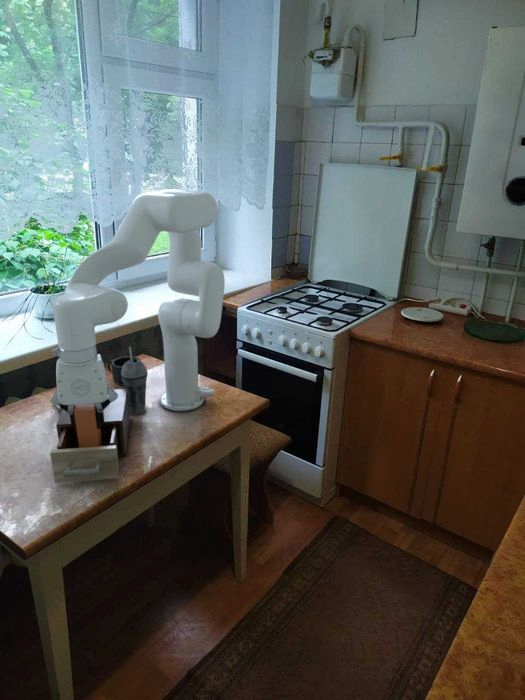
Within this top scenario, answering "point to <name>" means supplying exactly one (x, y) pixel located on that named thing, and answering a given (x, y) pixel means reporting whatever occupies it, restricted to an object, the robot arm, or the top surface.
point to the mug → (119, 368)
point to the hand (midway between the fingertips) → (88, 425)
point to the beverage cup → (135, 384)
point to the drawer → (86, 457)
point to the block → (87, 426)
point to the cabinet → (107, 418)
